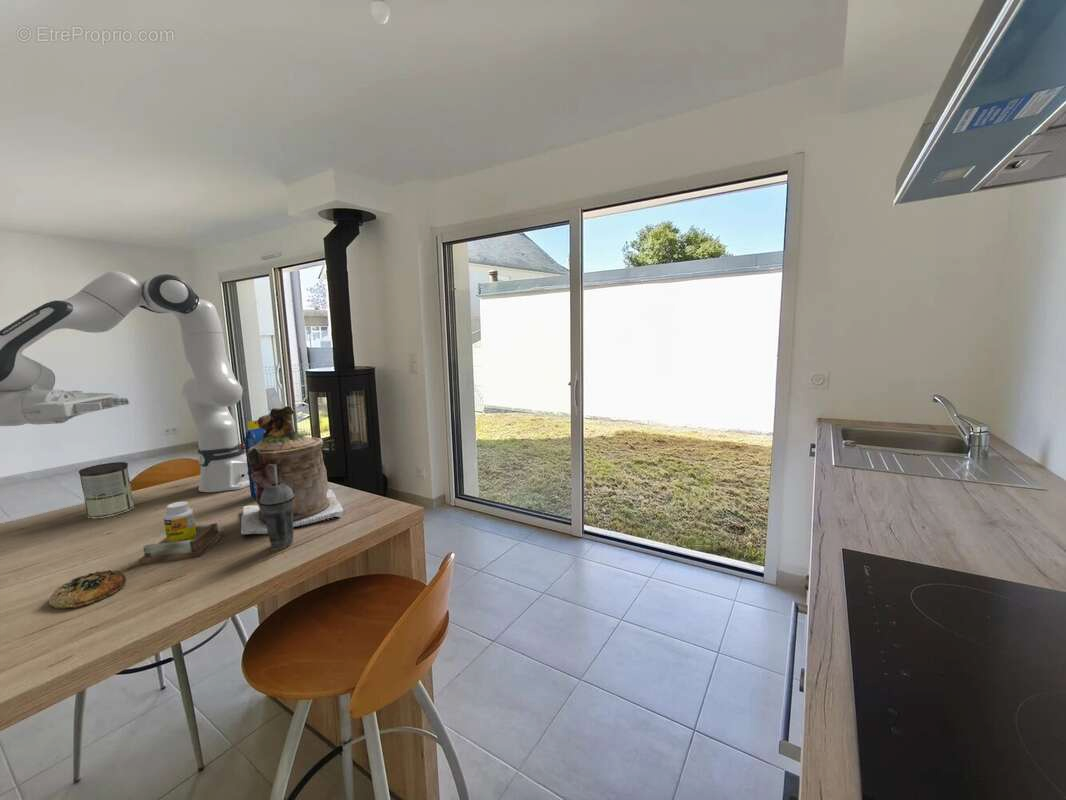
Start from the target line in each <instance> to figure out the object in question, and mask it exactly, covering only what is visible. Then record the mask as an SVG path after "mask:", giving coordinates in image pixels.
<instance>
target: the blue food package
mask: <svg viewBox="0 0 1066 800" xmlns="http://www.w3.org/2000/svg"><path fill="white" fill-rule="evenodd" d="M247 429H248V430H247V432H246V435H245V436H244V444H245V449H244V451H245V453H246V458H247V452H248V449H250V448H251V447H253V446H255V445H256V444H257V443H258V442H259V441H261V440H262V439H263V435H264V433H265V432H266V430H265V429H262V428H260V427H259V424H258V419H256V420H251V421H247ZM247 467H248V475H249V483H250V485H249V489H250V490H249V491H250V497H251V498H254V499H256V494H257V485H256V484H255V483H254V482H253V479H252V478H251V475H252V472H251V471H250V462H249V461H248V458H247Z"/></svg>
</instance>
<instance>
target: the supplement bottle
mask: <svg viewBox="0 0 1066 800" xmlns="http://www.w3.org/2000/svg"><path fill="white" fill-rule="evenodd" d="M166 512H167V513H165V514H164V516H163V523H164V530H165V536H166V537H167V543H168V542H177V541H186V540H193V539H194V538H195V537H197V535H196V527H195V526H196V523H195V521H196V519H195V513H194V510H193V509H192V508H190V507H189V502H188V501H178V502H172V503H170V504H167V506H166ZM166 537H165V538H166Z"/></svg>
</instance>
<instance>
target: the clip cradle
mask: <svg viewBox="0 0 1066 800" xmlns="http://www.w3.org/2000/svg"><path fill="white" fill-rule="evenodd" d="M195 527H196V535H197V537H195V538H194V539H193V540H186V541H177V542H168V543H167V537H164V538H163V539H162V540H160V541H159V542H158V543H153V544H150V543H149V544H145V545H144V546H143V547H142V548H143V552H144V553H143V554H144V555H143V556H141V558H139V559H138V564H139V563H143V564H148V563H147V562H151V563H158V561H160V562H166V561H165V560H168V561H174V559H176V560H182V559H183V558H185V559H192V558H191V557H193V558H198V557H197V556H200V557H201V556H203V555H204V554H205V553H206V550H207V549H208V548H209V547H210V546H211V545H212V544H213V543H214V542H215V541H216V540H217V539H218V538H219V537H220V536H222V535H223V533H224V530H219V527H218V523H217V522H215V523H208V524H207V523H206V524H199V525H196V524H195ZM224 534H225V533H224ZM223 536H224V535H223ZM223 536H222V537H223ZM219 539H220V538H219ZM219 539H218V540H219ZM218 540H217V541H218ZM217 541H216V542H217ZM216 542H215V543H216ZM215 543H214V544H215ZM214 544H213V545H214ZM213 545H212V546H213ZM212 546H211V547H212ZM211 547H210V548H211ZM210 548H209V549H210ZM209 549H208V550H209ZM208 550H207V551H208ZM183 560H184V559H183Z"/></svg>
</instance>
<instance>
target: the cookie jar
mask: <svg viewBox="0 0 1066 800" xmlns="http://www.w3.org/2000/svg"><path fill="white" fill-rule="evenodd" d="M295 412H296V410H295V409H293V408H292V406H290V405H286V406H284V407H282V408H279V407H277V408H275V407H274V408H272V409H271V410H270V413H268V414H265V415H262V416H260V417H258V419H257V420H258V424H259V427H260V428H262V429H265V430H266V432H265V433H264V435H263V439H262V440H261V441H259V442H258V443H257V444H256V445H255V446H253V447H251V448H250V449H248V452H247V458H248V461H249V462H250V471H251V472H252V475H251V478H252V479H253V482H254V483H255V484H256V485H257V494H256V498H255V500H256V501H255V502H256V504H257V505H254V504H253V505H249V504H248V505H245V506H243V507H242V508H241V510H242V515H241V518H240V519H241V525H240V526H241V528H240V534H241V536H245V535H252V534H253V535H268V531H267V526H266V522H265V517H264V513H263V511H262V508H261V505H260V497H261V494H262V492H263V491H264V489H265V488H266V487H268V486H269V485H271V484H274V483H275V473H274V465H275V464H276V467H277V481H278V483H283V484H286V485H287V486H289V487H290V488H291V490H292V491H293V495H294V497H295V498H294V505H293V528H295V527H300V526H305V525H309V524H313V523H317V522H322V520H323V521H326V520H325V519H327V520H330V519H329V518H332V519H334V518H333V517H338V516H342V514H343V512H344V509H343V507H342V505H341V503H340V502H339V501H338V499H337V497H336V494H335V492H334V491H333V489H330V488H329V484H328V475H327V473H328V472H327V468H326V466H325V462H324V456H323V452H322V447H323V445H324V441H323V439H322V438H319V437H312V436H310V437H309V436H306V435H303V434H302V433H299V432H297V431H294V427H293V421H292V416H293V414H295ZM338 518H339V517H338Z"/></svg>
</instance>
